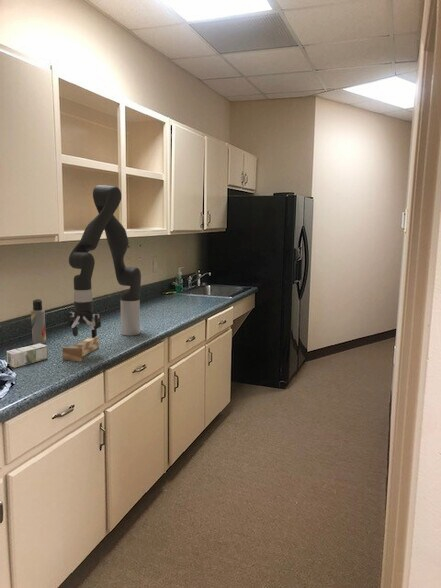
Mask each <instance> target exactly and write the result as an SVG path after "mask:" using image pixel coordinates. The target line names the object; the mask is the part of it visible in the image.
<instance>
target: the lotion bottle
mask: <svg viewBox="0 0 441 588" xmlns="http://www.w3.org/2000/svg"><path fill="white" fill-rule="evenodd" d="M30 313H31V314H30V316H31V319H30V320H31V334H32V336H31V337H32V338H31V339H32V345H35V344H39V343H41V344H43V345H45V344H46V343H47V336H46V335H47V332H46V318H45V317H46V315H45V314H46V311H45V309H43V300H42V299H38V298H37V299H34V300H32V310H31V311H30Z"/></svg>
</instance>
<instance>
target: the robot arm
mask: <svg viewBox="0 0 441 588" xmlns="http://www.w3.org/2000/svg"><path fill="white" fill-rule="evenodd" d="M121 191H122V190H120V188H119V187H118V186H116V185H115V186H114V185H106V184H98V185H96V186H94V188H93V190H92V198H93V203H94V206H95V208H96V210H97V213H98V214H97V215H96V216H95V217H94V218H93V219H92V220H91V221H90V222H89V223H88V224H87V225H86V227H85V229H84V230H83V233H82V236H81V237H80V238H81V239H80V240H79V242H78V243H77V244H76V245H75V246H74V248H73V249H72V250H71V252H70V253H69V258H68V265H69V266H70V267H71V268H72V269H78V270H80V272H79V274H76V275H74V277H73V309H74V311H69V312H68V313H67V326H68V327H71V329H72V330H71V331H72V336H73V337H74V338H75V337H77V336H78V335H79V333H78V331H79V330H78V329H79V328H78V325H79V324H85V325H86V324H87V326H89V328H91V337H92V338H95V337H98V336H97V335H98V334H97V332H98V331H97V329H100V328H101V327H102V324H101V323H102V322H101V314H100V313H97V314H95V313H94V312H93V310H94V307H93V306H94V302H93V301H94V299H93V291H92V278H93V272H94V269H95V262H96V261H95V258H94V256H93V254H91V253H90V252H92V251H94V250H96V249H97V247H98V245H99V242H100V240H101V238H102V234H103V232H104V234H105V237H106V241H107V244H108V248H109V249H110V253H111V258H112V262H113V266H114V271H115V272H114V273H115V277H116V281H117V284H118V285H120V286H125V287H126V286H127V287H129V290H128V291H125V292H123V293H120V334H121V335H122V336H137V335H140V334H141V329H140V328H141V319H140V318H141V316H140V315H141V313H140V312H141V311H140V309H141V308H140V305H141V304H140V302H141V299H140V296H141V285H142V284H141V282H142V272H141V270H140V268H138V267H132V266H126V265H125V261H124V259H125V258H124V257H125V255H126V253H127V251H128V248H129V238H128V235H127V232H126V228H125V227H124V225H123V224H122V223H121V222H120V221H119V220H118V219H117V217H116V216H115V212H116V211H117V209H118V208H119V205H120V204H121V201H122V192H121ZM74 317H75V319H74Z"/></svg>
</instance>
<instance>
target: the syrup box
mask: <svg viewBox="0 0 441 588" xmlns="http://www.w3.org/2000/svg"><path fill="white" fill-rule="evenodd" d="M48 356H49V355H48V345H46V344H41V343H39V344H32V345H28V346H24V347H18V348H14V349H11V350H6V361H7V362H6V364H7V363H8V364H9V365H8V366H9V367H12V368H18V367H23V366H27V365H30V364H35V363H37V362H42V361H44V360H48V359H49V357H48Z"/></svg>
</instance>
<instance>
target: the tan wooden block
mask: <svg viewBox="0 0 441 588" xmlns="http://www.w3.org/2000/svg"><path fill="white" fill-rule="evenodd" d="M61 349H62V360H63V361H72V362H82V361H83V357H84V356H86V355H87V354H90V353H92V352H93V351H95V350H96V349H99V336H96V337H95V338H92V336H90V337H88V338H86V339H84V340H82V341H80V342H78V343H76V344H74V345H71V346H70V347H69V346H64V347H62V348H61Z"/></svg>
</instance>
